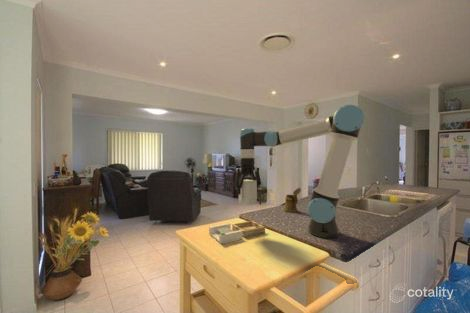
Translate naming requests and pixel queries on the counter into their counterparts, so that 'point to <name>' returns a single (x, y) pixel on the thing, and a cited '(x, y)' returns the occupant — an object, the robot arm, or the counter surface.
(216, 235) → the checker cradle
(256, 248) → the counter surface
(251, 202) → the supplement box
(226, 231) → the cradle platform
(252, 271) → the counter surface
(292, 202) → the wooden mug
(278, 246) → the counter surface
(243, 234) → the wooden trough
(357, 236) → the counter surface
